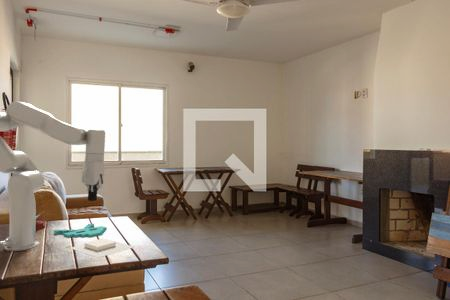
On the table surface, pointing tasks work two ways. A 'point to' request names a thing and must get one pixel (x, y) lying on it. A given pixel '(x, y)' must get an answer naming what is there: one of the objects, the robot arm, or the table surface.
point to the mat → (103, 252)
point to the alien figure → (82, 231)
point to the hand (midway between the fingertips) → (92, 200)
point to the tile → (100, 244)
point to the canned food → (40, 223)
